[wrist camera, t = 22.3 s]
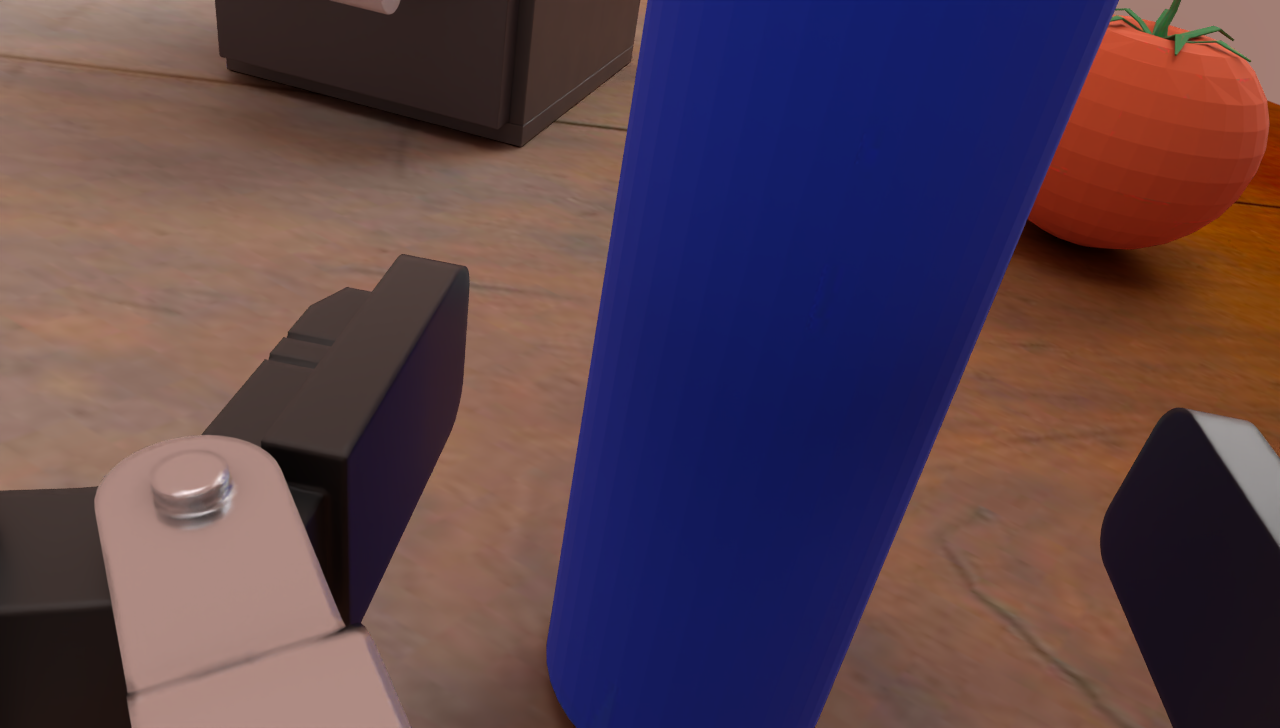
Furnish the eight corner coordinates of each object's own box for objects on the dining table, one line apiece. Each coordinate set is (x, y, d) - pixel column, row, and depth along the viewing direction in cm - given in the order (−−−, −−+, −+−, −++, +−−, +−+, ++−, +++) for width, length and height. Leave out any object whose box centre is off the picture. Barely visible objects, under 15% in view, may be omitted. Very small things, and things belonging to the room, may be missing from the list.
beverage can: (869, 723, 18) (1298, -193, 10) (654, 868, 15) (1008, -277, 7) (696, 547, 21) (908, -251, 13) (491, 638, 18) (596, -324, 10)
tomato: (941, 245, 37) (1039, -19, 32) (960, 168, 46) (1040, -52, 40) (1214, 325, 35) (1369, 56, 30) (1182, 228, 43) (1298, 4, 38)
